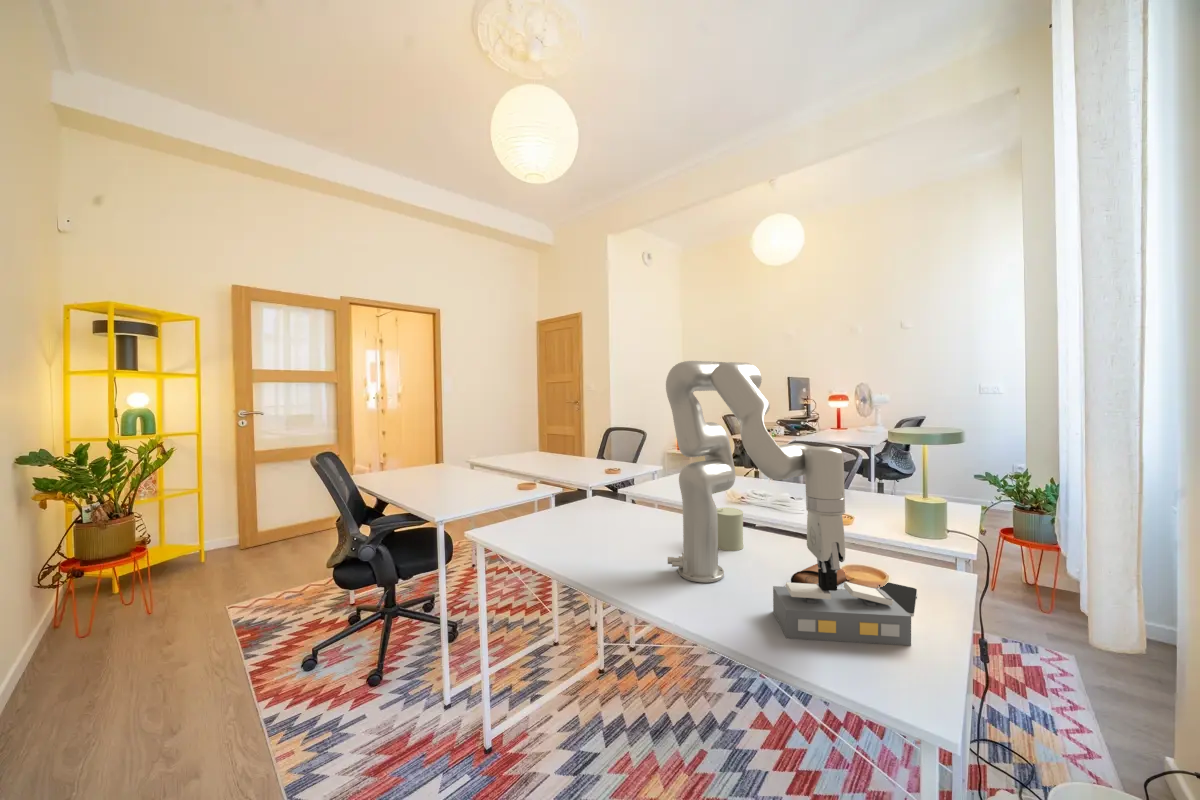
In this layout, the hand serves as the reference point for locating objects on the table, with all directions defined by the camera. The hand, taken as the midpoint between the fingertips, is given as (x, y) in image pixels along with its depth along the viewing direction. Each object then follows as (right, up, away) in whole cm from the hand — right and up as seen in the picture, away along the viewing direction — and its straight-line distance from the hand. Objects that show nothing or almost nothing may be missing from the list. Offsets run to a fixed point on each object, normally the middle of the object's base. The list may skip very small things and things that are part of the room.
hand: (827, 588), depth 96 cm
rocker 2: (+8, -2, -1) cm, 8 cm away
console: (+2, -9, 0) cm, 9 cm away
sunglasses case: (+11, -9, +23) cm, 27 cm away
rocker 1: (-4, -2, +1) cm, 4 cm away
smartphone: (+23, -9, +13) cm, 28 cm away
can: (-7, -8, +50) cm, 51 cm away
